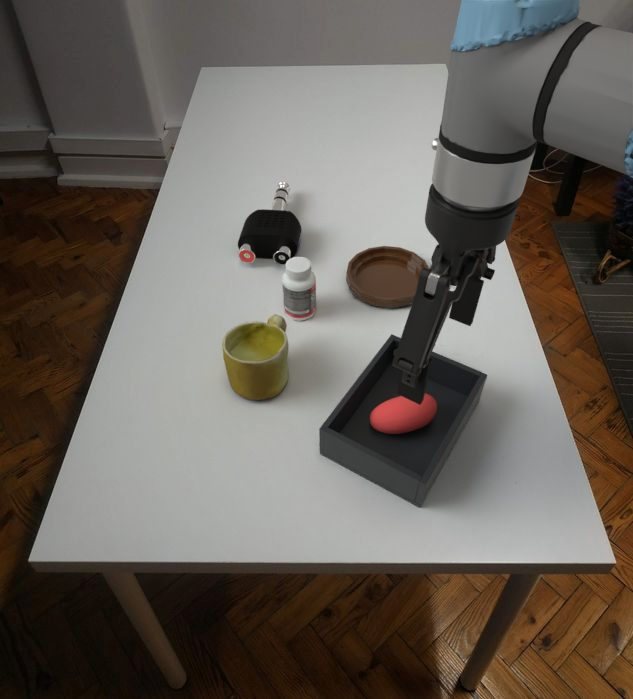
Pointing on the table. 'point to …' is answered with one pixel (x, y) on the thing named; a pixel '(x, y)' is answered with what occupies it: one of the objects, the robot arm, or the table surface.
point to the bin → (406, 448)
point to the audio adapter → (271, 231)
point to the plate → (385, 276)
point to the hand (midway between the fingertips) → (436, 356)
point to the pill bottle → (299, 289)
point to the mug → (257, 358)
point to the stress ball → (403, 415)
